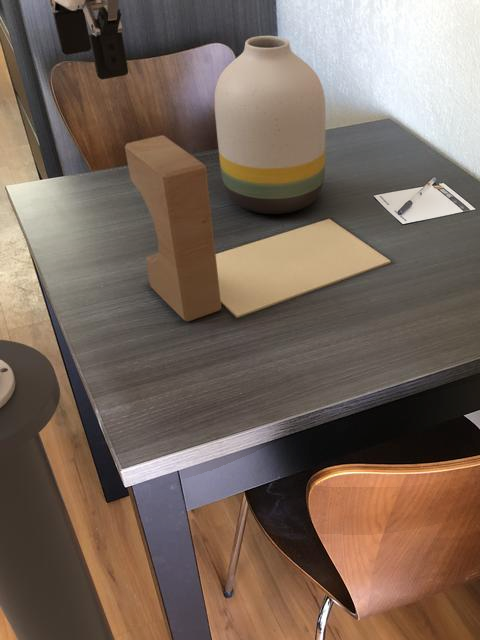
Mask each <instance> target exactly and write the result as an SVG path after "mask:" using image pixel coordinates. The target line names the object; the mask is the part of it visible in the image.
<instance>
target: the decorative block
mask: <svg viewBox="0 0 480 640" xmlns="http://www.w3.org/2000/svg"><path fill="white" fill-rule="evenodd" d="M124 150H125V156H126V161H127V166H128V173H129V178H130V181H131V182H132V184H133V185H134V186H135V187H136V189H137V190H138V192H139V193H140V195H141V197H142V199H143V201H144V202H145V205H146V207H147V209H148V212H149V215H150V217H151V220H152V222H153V224H154V229H155V234H156V237H157V247H158V252H157V253H154V254H151V255H147V256H146V257H145V264H146V265H145V266H146V269H147V275H148V281H149V286H150V288H152V290H153V291H154V292H155V293H156V294H157V295H158V296H159V297H160V298H161V299H162V300H163V301H164V302H165V303H166V304H167V305H168V307H170V308H171V309H172V310H173V311H174V312H175V313H176V314H177V315H178V316H179V317H180V318H181V319H182V320H183V321H184V322H186V323H189V322H192V321H194V320H197V319H200V318H203V317H206V316H208V315H211V314H214V313H217V312H220V311H221V310H222V303H221V299H220V290H219V281H218V272H217V263H216V254H217V253H216V247H215V237H214V236H215V235H214V228H213V217H212V209H211V200H210V192H209V191H210V190H209V183H208V173H207V165H205V164H204V163H202V162H201V161H200V160H199V159H198V158H196V157H194V156H193V155H192V154H190V153H189V152H187V151H186V150H185V149H184V148H182V147H181V146H179V145H178V144H176V143H175V142H173V141H172V140H170V139H169V138H168V137H167V136H165V135H164V134H161V135H157V136H152V137H148V138H144V139H140V140H135V141H131V142H127V143H126V144H125V146H124Z"/></svg>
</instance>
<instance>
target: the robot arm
mask: <svg viewBox="0 0 480 640" xmlns="http://www.w3.org/2000/svg"><path fill="white" fill-rule="evenodd" d="M49 4H50V8H51V11H53V12H52V15H53V19H54V25H55V27H56V34H57V38H58V42H59V47H60V50H61V53H63V54H64V55H66V56H67V55H74V54H79V53H86V52H90V51H91V53H92V58H93V59H92V60H93V64H94V69H95V74H96V77H97V78H98V79H100V80H108V79H114V78H118V77H124V76H128V73H129V66H128V62H127V55H126V50H125V43H124V39H123V38H124V37H123V25H122V22H121V16H122V13H121V8H119V7H120V0H49ZM80 6H81V8H80ZM95 11H97V16H96V14H95ZM87 23H88V25H87ZM88 26H89V28H90V31H91V34H89V28H88ZM15 385H16V383H15V377H14V374H13V372H12V369H11V368H10V367H9V365H8V364H6V363H5V362H4V361H2V360H0V408H1V407H2V406H3V405H5V404H6V402H7V401H8V400H9V399H10V397H11V396H12V394H13V392H14V390H15Z"/></svg>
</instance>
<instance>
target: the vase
mask: <svg viewBox="0 0 480 640" xmlns="http://www.w3.org/2000/svg"><path fill="white" fill-rule="evenodd" d="M322 84H323V83H322V82H321V80H320V78H319V76H318V74H317V72H316V71H315V70H314V69H313V67H311V66H310V64H308V62H306V61H304V60H303V59H302V58H300V57H299V56H298V55H297V54H295V53H294V51H292V48H291V44H290V41H289V40H288V39H287V38H284V37H282V36H276V35H258V36H252V37H250V38H248V39H246V41H245V43H244V49H243V51H242V52H241V54H239V55H238V56H237V57H236V58H235V59H234V60H232V61H231V62H230V63H229V64H228V65H227V66H226V67H225V68H224V69H223V71H222V72H221V73H220V75H219V77H218V80H217V83H216V86H215V89H214V100H213V101H214V116H215V127H216V137H217V147H218V156H219V165H220V174H221V180H222V184H223V186H224V189H225V192H227V195H228V196H229V198H230V199H231V200H232V201H233V202H234V204H236V205H237V206H239V207H240V208H242V209H245V210H247V211H249V212H253V213H258V214H264V215H282V214H288V213H294V212H297V211H300V210H303V209H305V208H306V207H308V206H310V205H311V204H313V203H314V202H315V201H316V200H317V198H318V197H319V195H320V193H321V191H322V188H323V185H324V181H325V173H326V97H325V92H324V88H323V85H322Z"/></svg>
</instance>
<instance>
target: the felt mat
mask: <svg viewBox="0 0 480 640" xmlns="http://www.w3.org/2000/svg"><path fill="white" fill-rule="evenodd" d="M215 254H216V263H217V272H218V281H219V290H220V299H221V305H222V306H224V307H225V308H226V309H227V310H228V311H229V312H230V313H231V314H232V315H233V316H234V317H235V318H236V319H237V318H241V317H243V316H246V315H249V314H251V313H255V312H257V311H260V310H262V309H266V308H268V307H271V306H275V305H277V304H281V303H282V302H285V301H288V300H291V299H293V298H296V297H299V296H303V295H305V294H308V293H310V292H314V291H316V290H319V289H321V288H324V287H327V286H330V285H333V284H335V283H338V282H341V281H344V280H346V279H349V278H352V277H355V276H358V275H360V274H363V273H366V272H368V271H371V270H375V269H377V268H380V267H383V266H385V265H388V264H391V260H390V259H389V258H387V257H386V256H384V255H383V254H381V253H380V252H378V251H377V250H375V249H374V248H373V247H371V246H369V245H368V244H366V242H364V241H362V240H361V239H360V238H358V237H357V236H355V235H354V234H353V233H351V232H349V231H348V230H347V229H345V228H343V227H342V226H340V225H339V224H337V223H336V222H335V221H333V220H332V219H330V218H327V219H324V220H321V221H316V222H315V223H314V222H313V223H311V224H308V225H304V226H301V227H298V228H295V229H292V230H289V231H285V232H282V233H279V234H276V235H272V236H270V237H266V238H262V239H259V240H256V241H253V242H250V243H247V244H244V245H240V246H237V247H233V248H232V249H227V250H224V251H221V252H218V253H215Z"/></svg>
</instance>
